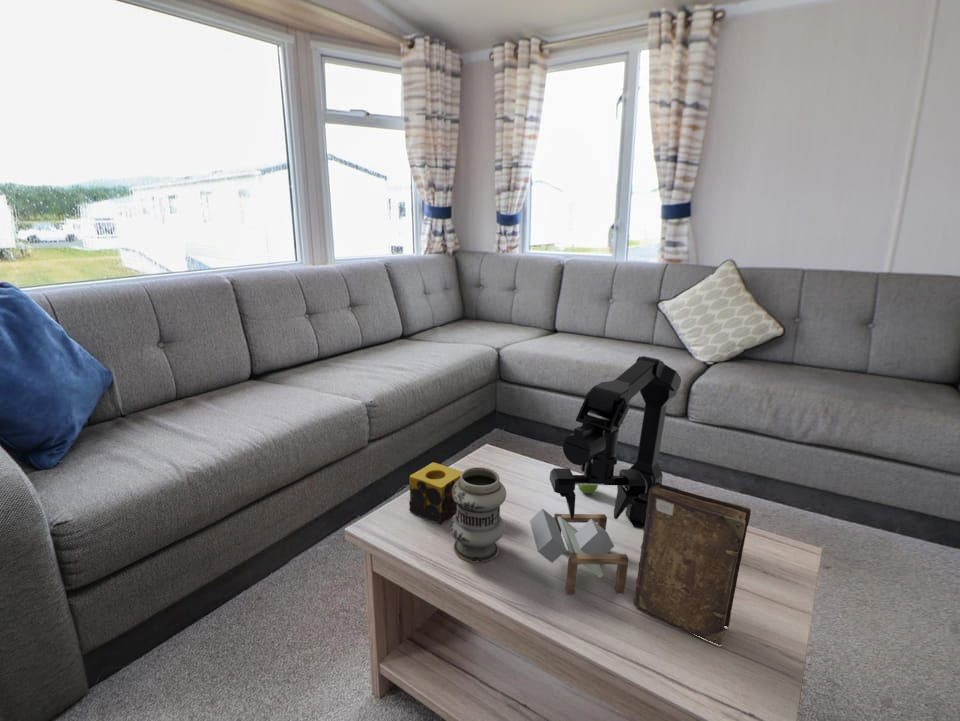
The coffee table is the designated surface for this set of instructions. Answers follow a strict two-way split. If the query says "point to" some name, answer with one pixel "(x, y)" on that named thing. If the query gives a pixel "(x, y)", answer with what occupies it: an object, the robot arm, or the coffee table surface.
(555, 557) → the trapdoor
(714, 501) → the book
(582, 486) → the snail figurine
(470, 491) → the apothecary jar
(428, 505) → the candle
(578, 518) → the walnut frame
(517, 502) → the coffee table surface
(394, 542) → the coffee table surface
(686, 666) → the coffee table surface
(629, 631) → the coffee table surface
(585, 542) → the slate grey block
